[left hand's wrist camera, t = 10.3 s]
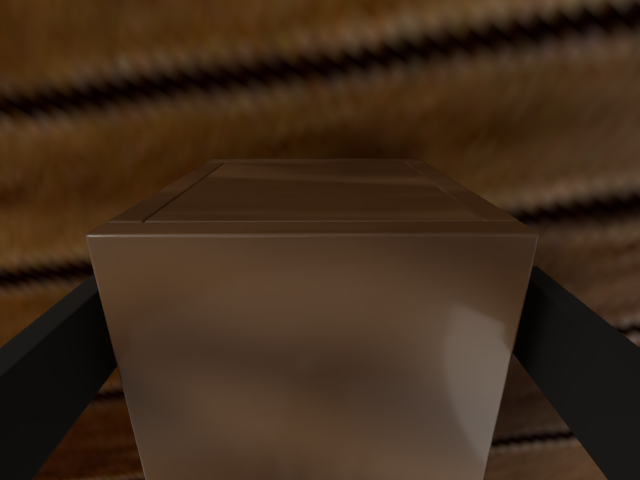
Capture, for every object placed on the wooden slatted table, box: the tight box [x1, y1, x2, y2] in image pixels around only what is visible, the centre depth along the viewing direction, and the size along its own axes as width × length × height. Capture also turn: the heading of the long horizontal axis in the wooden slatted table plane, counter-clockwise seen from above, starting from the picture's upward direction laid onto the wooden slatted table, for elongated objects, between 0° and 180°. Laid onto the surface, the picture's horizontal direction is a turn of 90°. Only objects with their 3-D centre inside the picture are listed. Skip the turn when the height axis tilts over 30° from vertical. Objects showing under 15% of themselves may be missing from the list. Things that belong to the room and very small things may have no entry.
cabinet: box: [86, 158, 539, 480], centre depth 17 cm, size 20×10×11 cm, turn 0°
